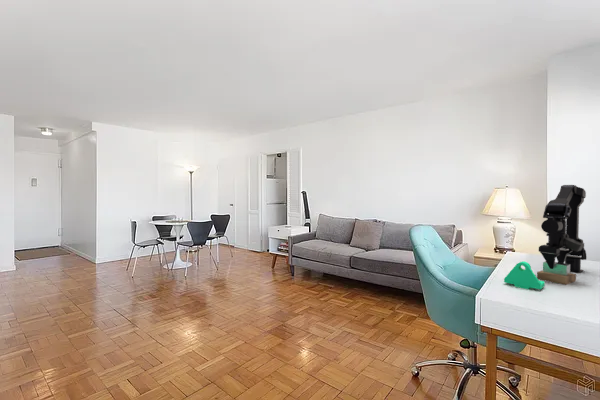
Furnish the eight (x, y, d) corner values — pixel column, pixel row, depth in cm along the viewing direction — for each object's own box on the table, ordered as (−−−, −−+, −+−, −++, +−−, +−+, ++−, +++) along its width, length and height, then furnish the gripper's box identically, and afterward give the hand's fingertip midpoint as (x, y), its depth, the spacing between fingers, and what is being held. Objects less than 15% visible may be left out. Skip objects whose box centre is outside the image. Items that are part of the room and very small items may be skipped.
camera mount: (545, 288, 120) (545, 262, 120) (540, 292, 115) (541, 265, 115) (509, 281, 129) (510, 257, 129) (504, 284, 124) (504, 260, 124)
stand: (547, 275, 137) (547, 268, 137) (575, 281, 129) (575, 274, 128) (536, 278, 132) (537, 271, 132) (565, 284, 124) (565, 277, 124)
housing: (546, 270, 135) (546, 260, 135) (570, 273, 129) (570, 264, 129) (542, 271, 132) (543, 262, 132) (566, 275, 126) (566, 265, 126)
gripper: (571, 235, 118) (570, 274, 119) (590, 232, 128) (589, 268, 128) (538, 232, 128) (537, 268, 128) (557, 229, 137) (557, 263, 138)
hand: (556, 267), depth 130 cm, fingers open, 9 cm apart
